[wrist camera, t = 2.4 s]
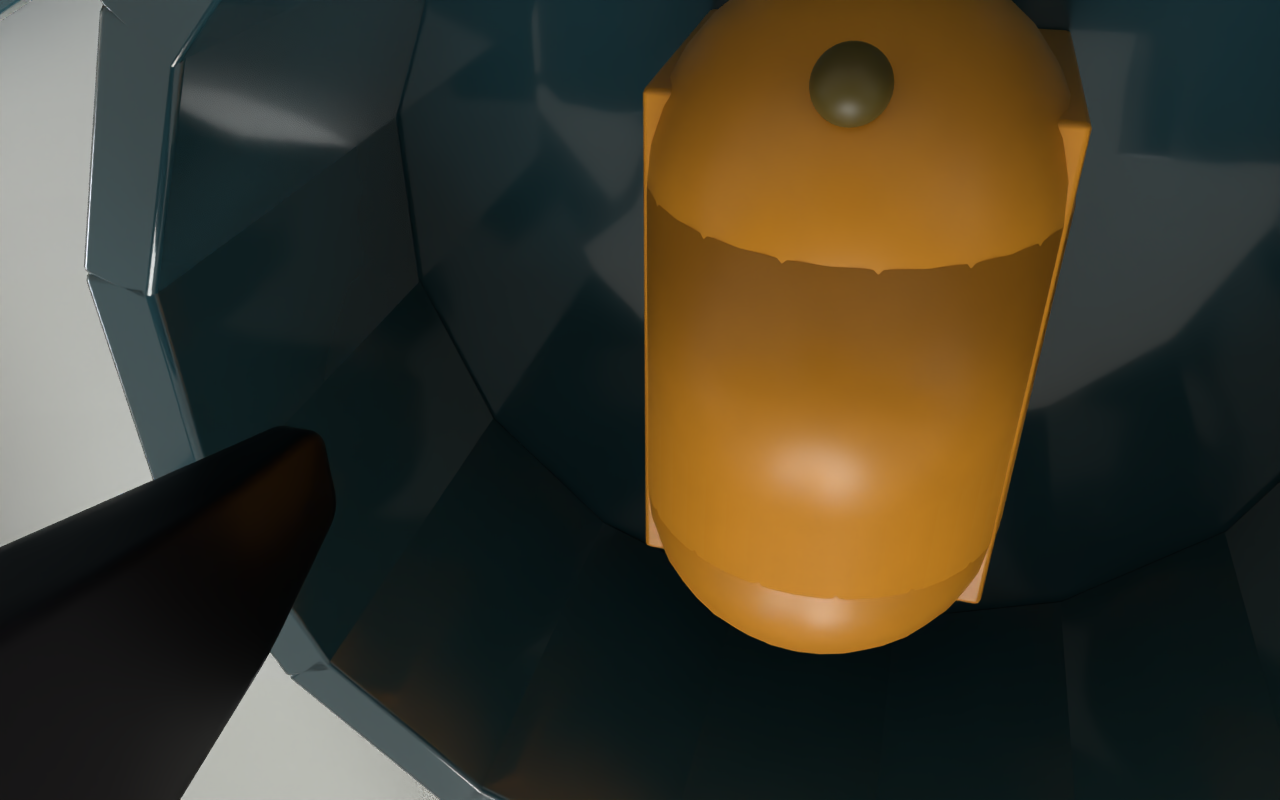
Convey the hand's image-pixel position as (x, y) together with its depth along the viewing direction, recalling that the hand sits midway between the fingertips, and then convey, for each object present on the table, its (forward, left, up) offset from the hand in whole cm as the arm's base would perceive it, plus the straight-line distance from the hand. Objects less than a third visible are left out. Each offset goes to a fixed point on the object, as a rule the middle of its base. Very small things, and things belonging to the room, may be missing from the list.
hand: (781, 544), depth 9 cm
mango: (0, 0, -6) cm, 6 cm away
